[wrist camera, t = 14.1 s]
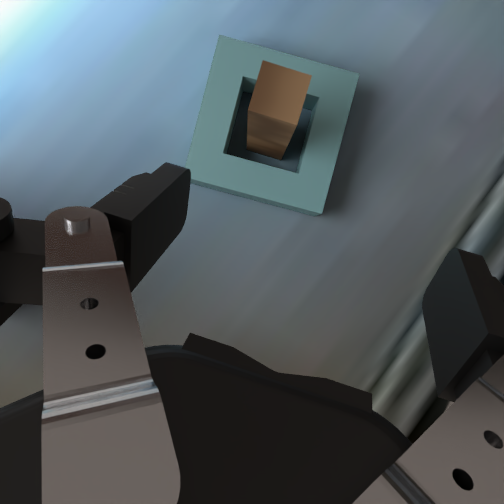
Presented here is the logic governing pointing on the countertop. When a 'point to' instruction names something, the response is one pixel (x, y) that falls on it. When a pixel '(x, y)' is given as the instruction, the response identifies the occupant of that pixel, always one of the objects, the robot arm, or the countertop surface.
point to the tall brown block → (275, 109)
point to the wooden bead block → (256, 174)
